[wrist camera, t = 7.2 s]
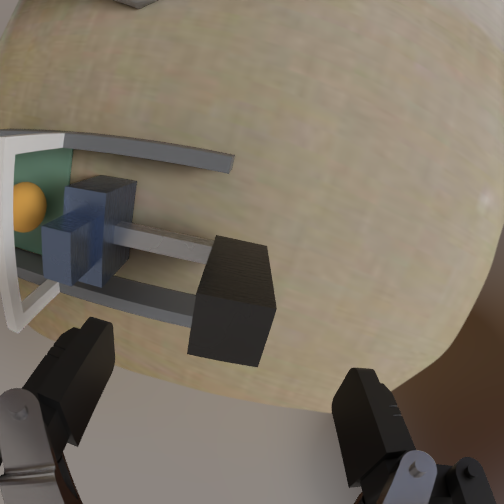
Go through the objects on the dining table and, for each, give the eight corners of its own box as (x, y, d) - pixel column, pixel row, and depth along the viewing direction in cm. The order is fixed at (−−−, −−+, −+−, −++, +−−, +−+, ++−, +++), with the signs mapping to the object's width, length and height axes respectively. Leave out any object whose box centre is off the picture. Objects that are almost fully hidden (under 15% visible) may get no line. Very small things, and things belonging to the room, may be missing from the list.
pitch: (10, 128, 18) (-65, 137, 9) (234, 155, 20) (223, 164, 11) (7, 254, 22) (-52, 295, 14) (203, 308, 24) (184, 389, 15)
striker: (101, 175, 20) (1, 209, 10) (269, 207, 21) (287, 273, 11) (95, 250, 22) (14, 322, 12) (249, 284, 23) (249, 390, 13)
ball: (0, 189, 15) (49, 186, 18) (4, 178, 18) (46, 176, 20) (2, 242, 16) (48, 238, 19) (4, 224, 19) (44, 221, 22)
